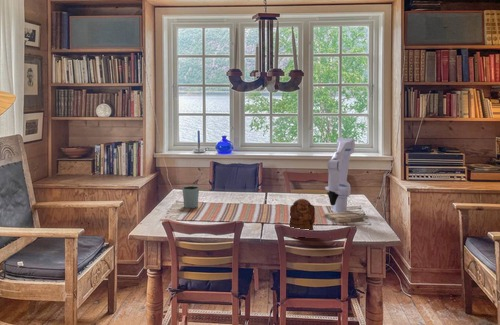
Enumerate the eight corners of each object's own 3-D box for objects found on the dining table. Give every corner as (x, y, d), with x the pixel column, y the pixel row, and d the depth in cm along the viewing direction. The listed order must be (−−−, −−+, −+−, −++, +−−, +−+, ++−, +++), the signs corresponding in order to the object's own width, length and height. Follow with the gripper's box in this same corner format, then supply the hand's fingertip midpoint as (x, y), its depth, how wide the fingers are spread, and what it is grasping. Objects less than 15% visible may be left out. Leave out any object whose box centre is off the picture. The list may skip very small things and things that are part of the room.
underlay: (321, 216, 257) (321, 216, 257) (348, 214, 264) (348, 213, 264) (336, 223, 243) (336, 223, 243) (364, 221, 249) (364, 220, 249)
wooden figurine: (292, 237, 217) (293, 201, 215) (288, 234, 223) (289, 198, 221) (315, 236, 220) (316, 200, 217) (311, 232, 226) (312, 197, 223)
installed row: (336, 215, 260) (337, 212, 260) (348, 214, 263) (348, 211, 263) (351, 221, 247) (351, 218, 247) (363, 220, 250) (363, 217, 249)
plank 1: (324, 216, 257) (324, 213, 257) (336, 215, 260) (336, 212, 260) (330, 219, 250) (331, 216, 250) (343, 218, 253) (343, 215, 253)
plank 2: (331, 219, 250) (331, 216, 250) (343, 218, 253) (343, 215, 253) (338, 222, 244) (338, 219, 243) (351, 221, 247) (351, 218, 246)
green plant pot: (200, 205, 282) (200, 186, 281) (197, 208, 272) (197, 189, 271) (184, 204, 283) (184, 185, 282) (180, 208, 273) (180, 188, 272)
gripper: (320, 179, 257) (319, 202, 259) (334, 183, 244) (333, 208, 246) (331, 178, 260) (330, 201, 262) (345, 183, 246) (344, 207, 248)
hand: (332, 204), depth 254 cm, fingers closed
